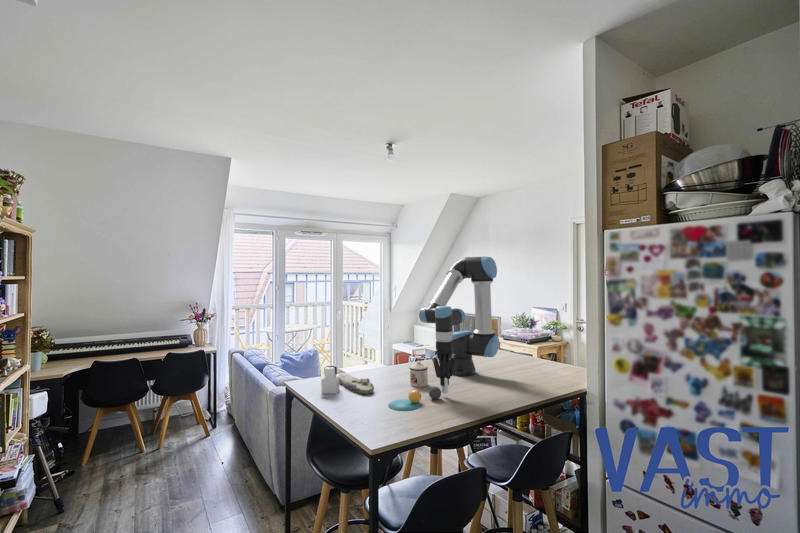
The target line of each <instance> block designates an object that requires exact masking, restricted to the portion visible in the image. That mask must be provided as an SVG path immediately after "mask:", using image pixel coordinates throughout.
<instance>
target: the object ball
mask: <svg viewBox="0 0 800 533" xmlns="http://www.w3.org/2000/svg"><path fill="white" fill-rule="evenodd" d="M408 399H409V400H410V401H411V402H412V403H418V402H420V401H421V400H422V394H421V392H420V391H419V390H417V389H412V390H411V391H410V392H408Z"/></svg>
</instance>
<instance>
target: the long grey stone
mask: <svg viewBox="0 0 800 533" xmlns="http://www.w3.org/2000/svg"><path fill="white" fill-rule="evenodd" d="M338 375H339V384H340V385H343V387H345V388H347V389H349V390H350V391H352V392H355V393H356V392H357V394H361V395H370V394H373V393H374V389H375V387H374V384H373V383H372V382H371V381H370V379H369V378H357V377H355V376H352V375H350V374H348V373H340V374H338Z"/></svg>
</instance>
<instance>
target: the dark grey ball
mask: <svg viewBox="0 0 800 533" xmlns="http://www.w3.org/2000/svg"><path fill="white" fill-rule="evenodd" d="M428 396H429V398H430V399H432V400H434V401H435V400H438V399H439V398H440V397H441V396H442V389H441V388H440V387H438V386H432V387H430V388H429V390H428Z"/></svg>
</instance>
